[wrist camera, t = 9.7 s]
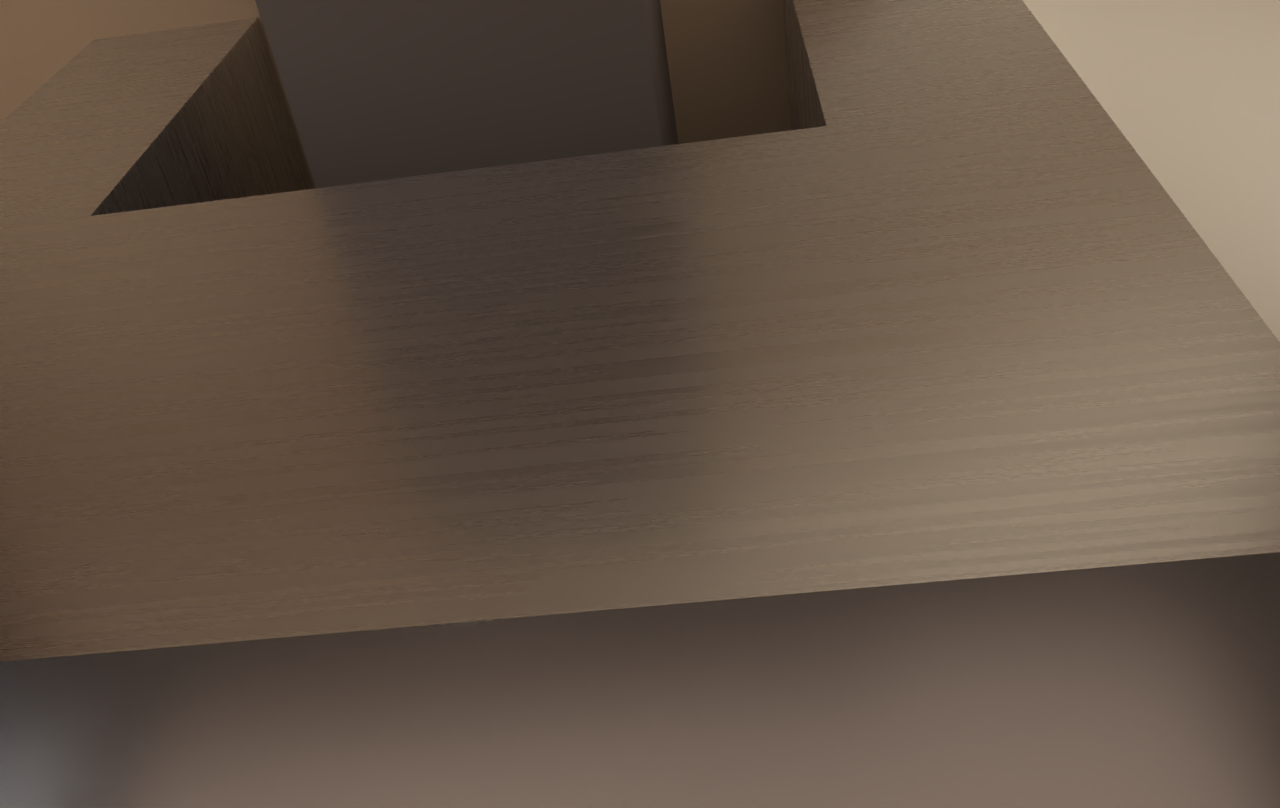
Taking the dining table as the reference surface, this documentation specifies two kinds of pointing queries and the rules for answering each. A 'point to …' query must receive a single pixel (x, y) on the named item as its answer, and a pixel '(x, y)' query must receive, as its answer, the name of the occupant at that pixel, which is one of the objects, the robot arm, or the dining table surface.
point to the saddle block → (631, 452)
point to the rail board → (696, 86)
